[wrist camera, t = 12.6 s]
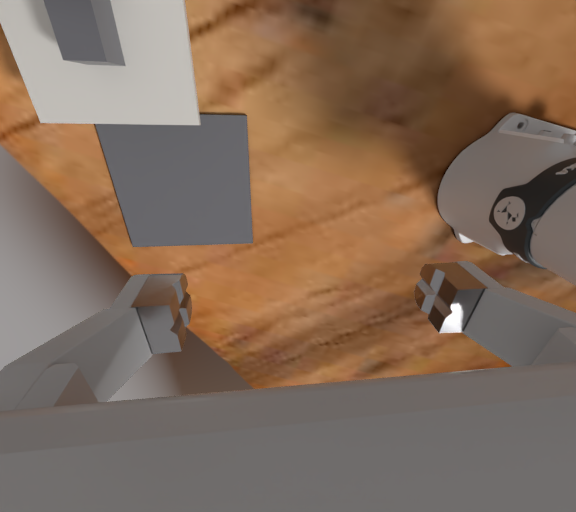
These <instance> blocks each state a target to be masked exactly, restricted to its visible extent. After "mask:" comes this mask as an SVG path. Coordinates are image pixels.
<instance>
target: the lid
mask: <svg viewBox="0 0 576 512" xmlns="http://www.w3.org/2000/svg"><path fill="white" fill-rule="evenodd" d="M0 23H1V26H2V28H3V31H4V33H5V36H6V38H7V41H8V43H9V46H10V48H11V51H12V53H13V55H14V58H15V60H16V63H17V65H18V68H19V70H20V73H21V75H22V78H23V80H24V83H25V85H26V88H27V90H28V93H29V95H30V98H31V100H32V103H33V105H34V108H35V110H36V113H37V115H38V118H39V120H40V123H78V124H142V125H201V123H200V115H199V107H198V99H197V91H196V84H195V76H194V68H193V60H192V52H191V45H190V37H189V29H188V21H187V13H186V6H185V0H0Z"/></svg>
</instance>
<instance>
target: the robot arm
mask: <svg viewBox="0 0 576 512" xmlns="http://www.w3.org/2000/svg"><path fill="white" fill-rule="evenodd" d="M518 124H519V126H518ZM517 126H518V127H517ZM438 209H439V212H440V215H441V217H442V218H443V219H444V221H445V222H446V223H448V224H449V225H450V226H451V227H452V228H453V229H454V233H455V236H456V238H457V240H459V241H460V242H462V243H469V242H476V243H478V244H480V245H482V246H484V247H485V248H487V249H489V250H491V251H493V252H495V253H497V254H499V255H506V254H514V255H516V256H517V257H518V258H519V259H521V260H523V261H525V262H527V263H530V264H532V265H534V266H536V267H538V268H542V269H548V270H550V271H552V272H553V273H555V274H557V275H558V276H560V277H562V278H564V279H565V280H567V281H569V282H570V283H572V284H574V285H575V286H576V131H575V130H572V129H568V128H565V127H562V126H559V125H555V124H552V123H549V122H545V121H542V120H539V119H535V118H532V117H529V116H525V115H522V114H518V113H509V114H508V115H506V116H505V117H504V118H502V119H501V120H500V121H499V122H498V124H497V125H496V126H495V127H494V128H493V129H492V130H491V131H490V132H489V133H488V134H486V135H485V136H483V137H482V138H480V139H478V140H477V141H475V142H474V143H472V144H471V145H469V146H468V147H467V148H466V149H464V150H463V151H462V152H461V153H460V154H459V155H458V156H457V157H456V158H455V160H454V161H453V162H452V163H451V165H450V166H449V168H448V169H447V171H446V173H445V175H444V177H443V179H442V181H441V184H440V187H439V191H438ZM420 275H421V277H422V279H421V280H420V281H419V282H418V283H417V284H416V287H415V291H414V295H415V301H416V303H417V305H418V307H419V308H420V309H421V310H422V311H424V312H426V313H428V320H429V321H430V322H431V323H432V325H433V326H434V327H435V329H436V330H437V331H438V332H439V333H454V332H463V334H465V335H466V336H468V337H469V338H471V339H472V340H474V341H475V342H477V343H478V344H480V345H481V346H483V347H484V348H486V349H487V350H489V351H490V352H492V353H493V354H495V355H496V356H498V357H499V358H501V359H502V360H504V361H505V362H507V363H508V364H510V365H511V366H513V367H504V368H492V369H480V370H469V371H457V372H446V373H434V374H422V375H411V376H399V377H388V378H376V379H365V380H353V381H342V382H330V383H319V384H307V385H296V386H284V387H273V388H261V389H251V390H238V391H227V392H216V393H204V394H193V395H181V396H169V397H158V398H147V399H136V400H123V401H112V402H107V401H108V400H109V399H110V398H111V397H112V396H113V395H114V394H115V393H116V392H117V391H118V390H119V389H120V388H121V387H122V386H123V385H124V384H125V383H126V382H127V381H128V380H129V378H131V377H132V376H133V375H134V374H135V373H136V372H137V371H138V369H139V368H140V367H141V366H142V365H143V364H144V363H145V362H146V361H147V360H148V359H149V358H150V357H151V356H152V354H156V353H157V354H158V353H167V352H178V351H181V350H182V348H183V344H184V341H185V337H186V330H185V327H186V326H187V325H188V324H190V320H191V314H192V302H191V297H190V295H189V294H188V293H187V292H186V289H187V286H188V283H187V278H186V276H185V274H143V275H134V276H132V277H131V278H130V279H129V281H128V282H127V284H126V285H125V287H124V288H123V290H122V291H121V292H120V294H119V295H118V297H117V299H116V300H115V301H114V303H113V304H112V306H111V307H110V309H103V310H102V311H100V312H98V313H96V314H95V315H93V316H91V317H90V318H88V319H86V320H84V321H82V322H81V323H79V324H77V325H75V326H74V327H72V328H70V329H69V330H67V331H65V332H63V333H62V334H60V335H58V336H56V337H55V338H53V339H51V340H50V341H48V342H46V343H44V344H43V345H41V346H39V347H37V348H36V349H34V350H32V351H30V352H29V353H27V354H25V355H23V356H22V357H20V358H18V359H17V360H15V361H13V362H11V363H10V364H8V365H6V366H5V367H4V368H3V369H2V370H1V371H0V512H576V313H574V312H572V311H569V310H566V309H564V308H561V307H558V306H556V305H553V304H551V303H548V302H545V301H543V300H540V299H537V298H535V297H532V296H529V295H527V294H524V293H521V292H519V291H516V290H514V289H511V288H504V287H503V286H501V285H500V284H499V283H497V282H496V281H495V280H494V279H492V278H491V277H490V276H488V275H487V274H486V273H484V272H483V271H482V270H480V269H479V268H478V267H477V266H475V265H474V264H473V263H471V262H468V261H461V262H451V263H434V264H425V265H424V266H423V267H422V269H421V272H420Z"/></svg>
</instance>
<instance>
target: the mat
mask: <svg viewBox="0 0 576 512" xmlns="http://www.w3.org/2000/svg"><path fill="white" fill-rule="evenodd" d="M199 115H200V123H201V125H142V124H95V126H96V129H97V132H98V135H99V139H100V142H101V145H102V148H103V152H104V155H105V158H106V161H107V164H108V168H109V171H110V174H111V177H112V181H113V184H114V187H115V190H116V194H117V197H118V200H119V203H120V206H121V210H122V213H123V216H124V219H125V223H126V226H127V229H128V232H129V235H130V239H131V242H132V245H133V247H148V246H180V245H212V244H244V243H253V237H252V216H251V195H250V174H249V154H248V133H247V115H207V114H199Z"/></svg>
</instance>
